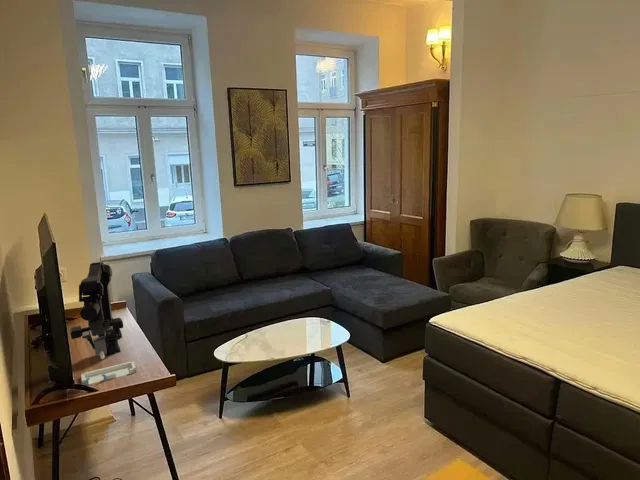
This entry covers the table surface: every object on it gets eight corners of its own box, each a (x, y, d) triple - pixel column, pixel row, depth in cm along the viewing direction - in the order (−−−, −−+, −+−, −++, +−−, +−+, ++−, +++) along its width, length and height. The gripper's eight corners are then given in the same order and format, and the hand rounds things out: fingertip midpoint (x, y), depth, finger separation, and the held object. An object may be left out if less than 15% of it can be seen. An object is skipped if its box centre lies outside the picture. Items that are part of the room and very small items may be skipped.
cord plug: (95, 352, 186) (93, 338, 185) (106, 349, 188) (103, 336, 187) (97, 361, 178) (95, 347, 177) (108, 359, 180) (106, 344, 179)
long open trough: (81, 378, 188) (80, 371, 187) (134, 365, 197) (133, 358, 196) (82, 387, 180) (81, 380, 180) (136, 373, 190) (135, 366, 189)
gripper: (68, 323, 170) (75, 362, 174) (122, 312, 179) (128, 349, 183) (67, 314, 180) (73, 351, 183) (118, 303, 189) (123, 339, 192)
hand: (100, 347), depth 185 cm, fingers closed on cord plug, 4 cm apart
